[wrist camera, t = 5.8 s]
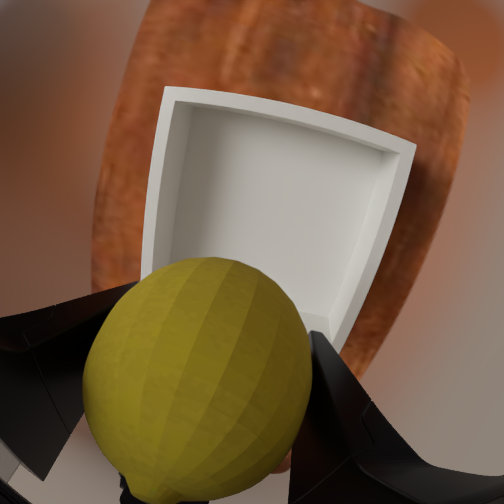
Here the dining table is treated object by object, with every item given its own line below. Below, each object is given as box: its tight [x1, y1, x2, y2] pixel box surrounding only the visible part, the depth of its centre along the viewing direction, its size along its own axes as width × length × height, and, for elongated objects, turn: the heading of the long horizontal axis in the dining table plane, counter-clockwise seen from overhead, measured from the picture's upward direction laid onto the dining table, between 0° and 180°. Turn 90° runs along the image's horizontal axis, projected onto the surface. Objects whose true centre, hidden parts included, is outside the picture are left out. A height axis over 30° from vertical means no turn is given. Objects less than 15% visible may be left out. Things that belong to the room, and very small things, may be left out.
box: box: [141, 86, 416, 354], centre depth 18 cm, size 14×14×4 cm
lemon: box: [82, 257, 312, 504], centre depth 7 cm, size 6×6×8 cm
